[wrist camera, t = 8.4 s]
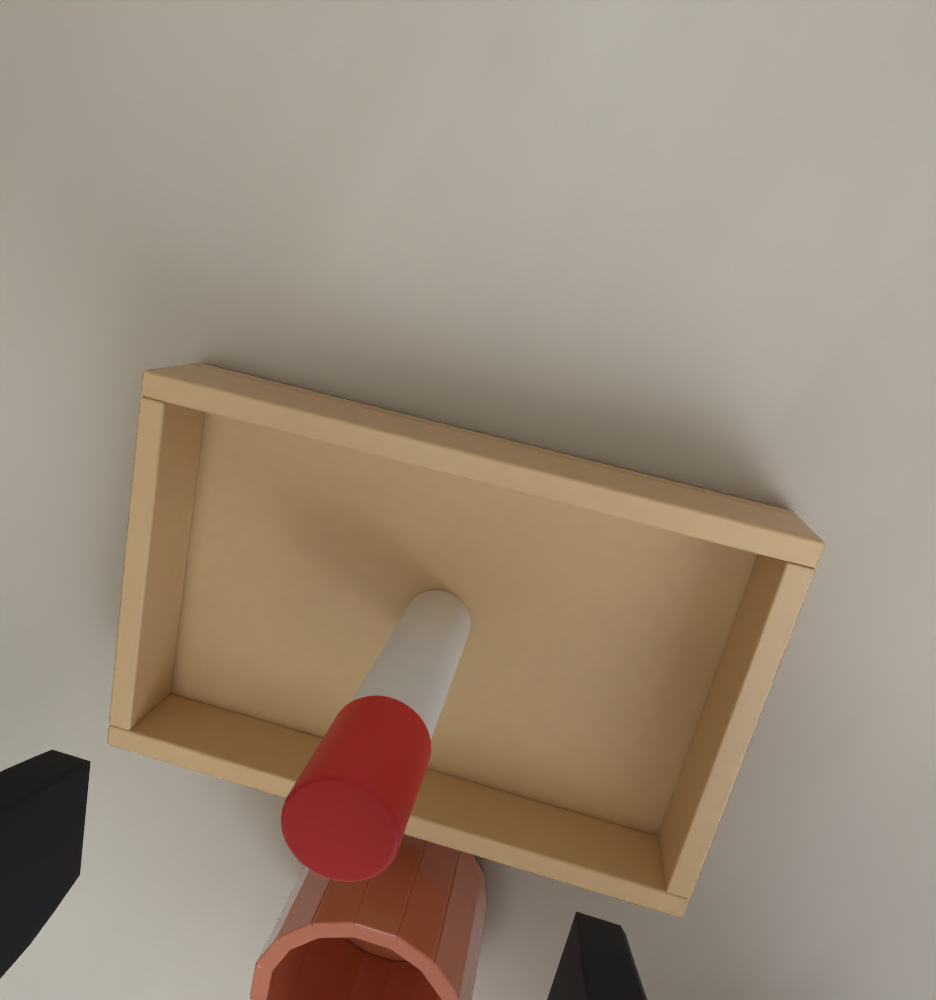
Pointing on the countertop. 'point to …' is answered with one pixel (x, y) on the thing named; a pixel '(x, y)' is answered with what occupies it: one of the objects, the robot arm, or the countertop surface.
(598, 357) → the countertop surface
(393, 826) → the marker
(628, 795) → the tray
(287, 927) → the cup
